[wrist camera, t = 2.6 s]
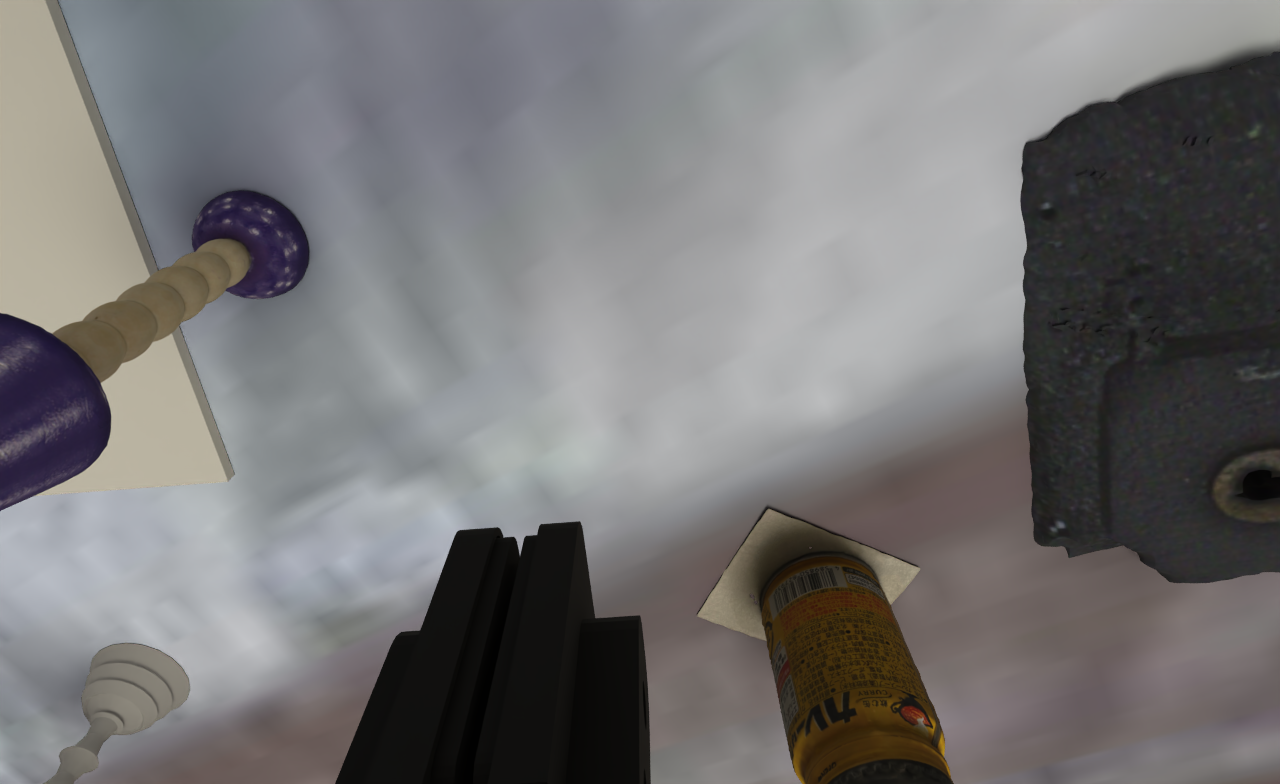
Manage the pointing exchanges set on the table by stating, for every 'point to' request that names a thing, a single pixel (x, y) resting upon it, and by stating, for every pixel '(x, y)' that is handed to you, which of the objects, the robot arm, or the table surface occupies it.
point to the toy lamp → (128, 339)
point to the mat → (88, 255)
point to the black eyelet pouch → (1159, 326)
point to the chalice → (122, 701)
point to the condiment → (834, 654)
